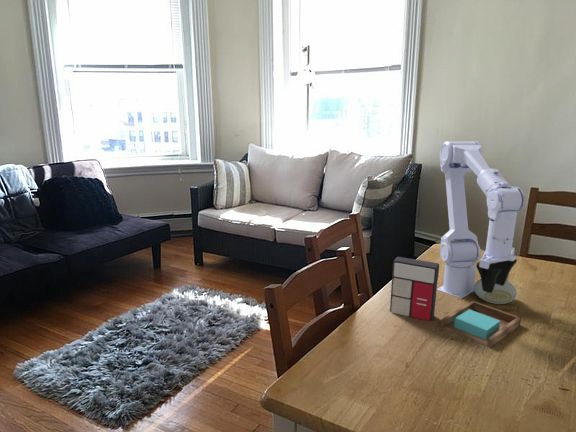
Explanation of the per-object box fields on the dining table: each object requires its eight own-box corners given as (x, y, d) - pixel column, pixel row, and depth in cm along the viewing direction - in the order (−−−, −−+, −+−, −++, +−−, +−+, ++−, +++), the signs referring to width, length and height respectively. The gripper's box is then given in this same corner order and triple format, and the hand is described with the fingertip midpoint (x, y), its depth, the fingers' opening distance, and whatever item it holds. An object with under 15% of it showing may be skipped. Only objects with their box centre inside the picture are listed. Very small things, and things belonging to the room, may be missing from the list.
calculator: (388, 314, 118) (392, 261, 114) (393, 307, 122) (396, 256, 118) (431, 323, 114) (436, 269, 110) (434, 316, 117) (439, 263, 113)
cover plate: (468, 318, 115) (469, 309, 115) (499, 330, 110) (500, 320, 109) (454, 327, 111) (455, 317, 110) (485, 339, 105) (486, 330, 105)
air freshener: (475, 304, 124) (479, 270, 121) (471, 291, 132) (474, 260, 129) (518, 308, 122) (523, 274, 119) (511, 295, 129) (515, 263, 127)
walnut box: (471, 308, 121) (472, 300, 121) (519, 326, 112) (521, 317, 112) (440, 328, 111) (441, 319, 111) (490, 349, 102) (491, 339, 102)
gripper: (503, 247, 101) (496, 301, 105) (529, 234, 110) (522, 285, 114) (473, 239, 106) (467, 292, 110) (501, 228, 115) (494, 276, 119)
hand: (493, 287), depth 112 cm, fingers open, 6 cm apart
